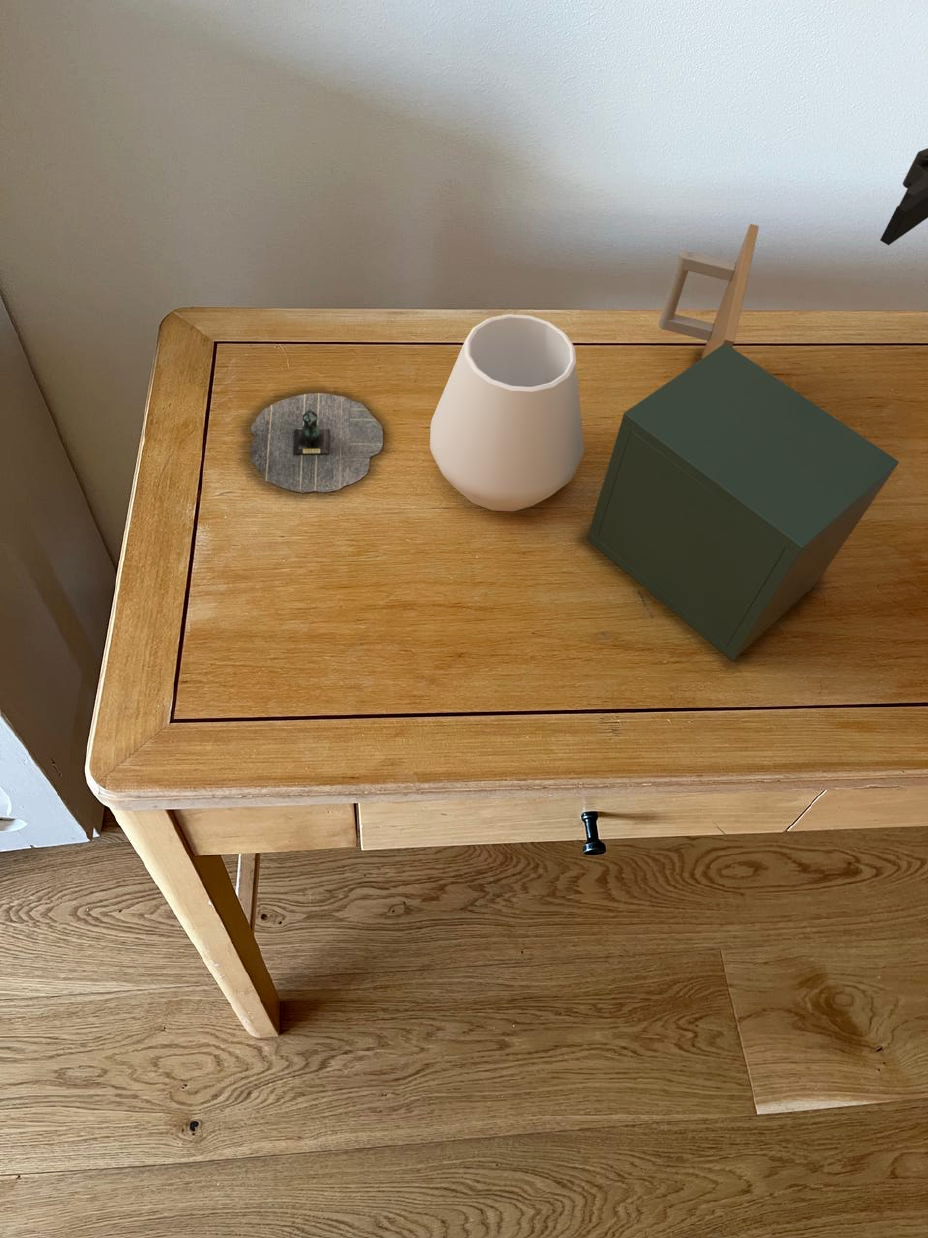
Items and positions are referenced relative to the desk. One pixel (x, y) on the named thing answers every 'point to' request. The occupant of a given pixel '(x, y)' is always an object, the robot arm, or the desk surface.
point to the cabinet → (732, 496)
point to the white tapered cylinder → (510, 414)
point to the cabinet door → (731, 301)
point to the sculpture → (315, 442)
